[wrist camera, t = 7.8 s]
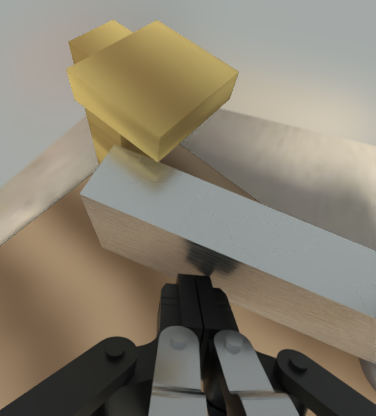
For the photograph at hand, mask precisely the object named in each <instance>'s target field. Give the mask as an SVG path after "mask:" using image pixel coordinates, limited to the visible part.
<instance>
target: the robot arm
mask: <svg viewBox="0 0 376 416" xmlns="http://www.w3.org/2000/svg"><path fill="white" fill-rule="evenodd" d="M201 380H202V381H203V391H202V392H201ZM308 409H309V410H311V411H312V412H313V413H314V414H315V415H317V416H376V404H374V403H373V402H371V401H370V400H369V399H367V398H366V397H364V396H363V395H361V394H360V393H359V392H357V391H356V390H354V389H353V388H352V387H350V386H349V385H347V384H346V383H344V382H343V381H342V380H340V379H339V378H337V377H336V376H335V375H333V374H332V373H330V372H329V371H327V370H326V369H325V368H323V367H322V366H320V365H319V364H318V363H316V362H315V361H313V360H312V359H310V358H309V357H308V356H306V355H305V354H303V353H301V352H299V351H296V350H292V349H283V350H281V351H279V353H278V354H277V357H276V358H275V357H272V356H269V355H266V354H263V353H260V352H258V351H256V350H254V348H253V346H252V344H251V342H250V341H249V339H248V338H247V337H245V336H244V335H243V334H241V333H240V332H239V329H238V326H237V323H236V320H235V318H234V315H233V312H232V309H231V306H230V304H229V300H228V297H227V295H226V294H225V293H224V292H223V291H222V290H221V289H220V288H214V287H213V286H212V282H211V278H210V276H202V275H191V274H181V273H178V275H177V280H176V284H171V283H166V284H165V285H164V286H163V288H162V289H161V295H160V302H159V309H158V316H157V334H156V338H155V339H154V340H153V341H152V342H150V343H148V344H145V345H141V346H136V345H135V344H134V343H133V342H132V341H131V340H129V339H128V338H125V337H120V336H114V337H109V338H106V339H104V340H102V341H100V342H99V343H97V344H96V345H94V346H93V347H91V348H90V349H89V350H87V351H86V352H84V353H83V354H81V355H80V356H78V357H77V358H75V359H74V360H72V361H71V362H70V363H68V364H67V365H65V366H64V367H62V368H61V369H59V370H58V371H56V372H55V373H53V374H52V375H50V376H49V377H48V378H46V379H45V380H43V381H42V382H40V383H39V384H37V385H36V386H34V387H33V388H31V389H30V390H29V391H27V392H26V393H24V394H23V395H21V396H20V397H18V398H17V399H15V400H14V401H12V402H11V403H9V404H8V405H7V406H5V407H4V408H2V409H1V410H0V416H306V413H307V410H308Z"/></svg>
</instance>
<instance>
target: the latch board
mask: <svg viewBox="0 0 376 416" xmlns="http://www.w3.org/2000/svg"><path fill="white" fill-rule="evenodd" d="M69 46H70V50H71V54H72V58H73V62H74V65H73V66H71V67H69V68H67V69H66V70H67V74H68V77H69V81H70V85H71V88H72V91H73V95H74V99H75V100H76V101H77V102H78V103H80V104H81V105H82V106H84V107H85V111H86V115H87V119H88V123H89V127H90V131H91V135H92V139H93V143H94V147H95V151H96V155H97V159H98V163H99V165H100V164H101V162H102V161H103V159H104V158H105V157H106V155H107V154H108V152H109V151H110V149H111V148H112V147H113V145H114V144H116V145H118V146H121V147H123V148H126V149H128V150H131V151H133V152H136V153H138V154H140V155H143V156H145V157H148V158H150V159H153V160H155V161H156V162H160V163H162V164H165V165H167V166H170V167H172V168H175V169H177V170H180V171H182V172H184V173H187V174H189V175H192V176H194V177H197V178H199V179H202V180H204V181H206V182H209V183H211V184H214V185H216V186H219V187H221V188H224V189H226V190H228V191H231V192H233V193H236V194H238V195H241V196H243V197H246V198H248V199H250V200H253V201H255V202H258V203H260V202H259V201H257V200H256V199H255V198H253V197H252V196H250V195H249V194H248V193H246V192H245V191H244V190H242V189H241V188H239V187H238V186H237V185H235V184H234V183H233V182H231V181H230V180H228V179H227V178H226V177H224V176H223V175H222V174H220V173H219V172H217V171H216V170H215V169H213V168H212V167H210V166H209V165H208V164H206V163H205V162H204V161H202V160H201V159H199V158H198V157H197V156H195V155H194V154H193V153H191V152H190V151H188V150H187V149H186V148H184V147H183V146H182V145H180V144H179V143H180V142H182V141H183V140H184V139H185V138H186V137H187V136H188V135H190V134H191V133H192V132H193V131H194V130H195V129H196V128H197V127H199V126H200V125H201V124H202V123H203V122H204V121H205V120H206V119H208V118H209V117H210V116H211V115H212V114H213V113H214V112H215V111H217V110H218V109H219V108H220V107H221V106H222V105H223V104H224V103H226V102H227V101H228V100H229V99H230V96H231V93H232V91H233V87H234V85H235V82H236V79H237V76H238V73H239V72H238V71H237V70H235V69H234V68H232V67H230V66H229V65H227V64H226V63H224V62H223V61H221V60H219V59H218V58H216V57H215V56H213V55H211V54H210V53H208V52H207V51H205V50H204V49H202V48H200V47H199V46H197V45H196V44H194V43H193V42H191V41H189V40H188V39H186V38H185V37H183V36H181V35H180V34H178V33H177V32H175V31H173V30H172V29H170V28H169V27H167V26H166V25H164V24H162V23H161V22H159V21H158V20H156V21H154V22H153V23H151V24H149V25H147V26H145V27H143V28H141V29H140V30H138V31H136V32H134V33H133V32H131V31H130V30H128V29H127V28H125V27H124V26H122V25H121V24H119V23H118V22H116V21H115V20H112V21H110V22H108V23H106V24H104V25H102V26H100V27H98V28H95V29H93V30H91V31H89V32H87V33H85V34H83V35H81V36H79V37H77V38H75V39H73V40H71V41H69ZM93 174H94V173H93ZM93 174H92V175H93ZM92 175H90V176H89V177H88V178H87V179H85V180H84V181H83V182H82V183H80V184H79V185H78V186H76V187H75V188H74V189H73V190H71V191H70V192H69V193H68V194H66V195H65V196H64V197H62V198H61V199H60V200H59V201H57V202H56V203H55V204H54V205H52V206H51V207H50V208H49V209H47V210H46V211H45V212H43V213H42V214H41V215H40V216H38V217H37V218H36V219H35V220H33V221H32V222H31V223H29V224H28V225H27V226H26V227H24V228H23V229H22V230H21V231H19V232H18V233H17V234H16V235H14V236H13V237H12V238H10V239H9V240H8V241H7V242H5V243H4V244H3V245H2V246H0V410H1V409H2V408H4V407H5V406H7V405H8V404H9V403H11V402H12V401H14V400H15V399H17V398H18V397H20V396H21V395H23V394H24V393H26V392H27V391H29V390H30V389H31V388H33V387H34V386H36V385H37V384H39V383H40V382H42V381H43V380H45V379H46V378H48V377H49V376H50V375H52V374H53V373H55V372H56V371H58V370H59V369H61V368H62V367H64V366H65V365H67V364H68V363H70V362H71V361H72V360H74V359H75V358H77V357H78V356H80V355H81V354H83V353H84V352H86V351H87V350H89V349H90V348H91V347H93V346H94V345H96V344H97V343H99V342H100V341H102V340H104V339H106V338H109V337H114V336H120V337H125V338H128V339H129V340H131V341H132V342H133V343H134V344H135V345H136V346H141V345H145V344H148V343H150V342H152V341H153V340H154V339H155V338H156V334H157V316H158V309H159V302H160V295H161V289H162V288H163V286H164V285H165V284H166V283H171V284H176V280H177V279H175V278H173V277H170V276H168V275H166V274H163V273H161V272H159V271H156V270H154V269H152V268H149V267H147V266H145V265H142V264H140V263H138V262H135V261H133V260H131V259H128V258H126V257H124V256H121V255H119V254H117V253H114V252H112V251H110V250H107V249H105V248H103V247H102V246H101V244H100V241H99V239H98V236H97V234H96V232H95V229H94V227H93V225H92V222H91V220H90V218H89V215H88V213H87V210H86V208H85V206H84V203H83V201H82V199H81V196H80V192H81V191H82V190H83V188H84V187H85V185H86V184H87V182H88V181H89V180H90V178H91V177H92ZM260 204H261V203H260ZM229 304H230V306H231V309H232V312H233V315H234V318H235V320H236V323H237V326H238V329H239V332H240V333H241V334H243V335H244V336H245V337H247V338H248V339H249V341H250V342H251V344H252V346H253V348H254V350H256V351H258V352H260V353H263V354H266V355H269V356H272V357H275V358H276V357H277V354H278V353H279V351H281V350H283V349H292V350H296V351H299V352H301V353H303V354H305V355H306V356H308V357H309V358H310V359H312V360H313V361H315V362H316V363H318V364H319V365H320V366H322V367H323V368H325V369H326V370H327V371H329V372H330V373H332V374H333V375H335V376H336V377H337V378H339V379H340V380H342V381H343V382H344V383H346V384H347V385H349V386H350V387H352V388H353V389H354V390H356V391H357V392H359V393H360V394H361V395H363V396H364V397H366V398H367V399H369V400H370V401H371V402H373V403H374V404H376V365H375V364H373V363H371V362H368V361H366V360H364V359H361V358H359V357H357V356H354V355H352V354H350V353H347V352H345V351H343V350H340V349H338V348H336V347H333V346H331V345H329V344H327V343H324V342H322V341H320V340H317V339H315V338H313V337H310V336H308V335H306V334H303V333H301V332H299V331H296V330H294V329H292V328H289V327H287V326H285V325H282V324H280V323H278V322H275V321H273V320H271V319H268V318H266V317H264V316H261V315H259V314H257V313H254V312H252V311H250V310H247V309H245V308H243V307H240V306H238V305H236V304H233V303H231V302H229ZM202 391H203V381H202V380H201V392H202ZM306 416H317V415H315V414H314V413H313V412H312V411H311V410H309V409H308V410H307V413H306Z"/></svg>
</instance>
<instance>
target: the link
mask: <svg viewBox="0 0 376 416" xmlns="http://www.w3.org/2000/svg"><path fill="white" fill-rule="evenodd" d="M80 196H81V199H82V201H83V203H84V206H85V208H86V210H87V213H88V215H89V218H90V220H91V222H92V225H93V227H94V229H95V232H96V234H97V236H98V239H99V241H100V244H101V246H102V247H103V248H105V249H107V250H110V251H112V252H114V253H117V254H119V255H121V256H124V257H126V258H128V259H131V260H133V261H135V262H138V263H140V264H142V265H145V266H147V267H149V268H152V269H154V270H156V271H159V272H161V273H163V274H166V275H168V276H170V277H173V278H175V279H177V275H178V273H181V274H191V275H202V276H210V278H211V282H212V286H213V287H214V288H220V289H221V290H222V291H223V292H224V293H225V294H226V295H227V297H228V300H229V302H231V303H233V304H236V305H238V306H240V307H243V308H245V309H247V310H250V311H252V312H254V313H257V314H259V315H261V316H264V317H266V318H268V319H271V320H273V321H275V322H278V323H280V324H282V325H285V326H287V327H289V328H292V329H294V330H296V331H299V332H301V333H303V334H306V335H308V336H310V337H313V338H315V339H317V340H320V341H322V342H324V343H327V344H329V345H331V346H333V347H336V348H338V349H340V350H343V351H345V352H347V353H350V354H352V355H354V356H357V357H359V358H361V359H364V360H366V361H368V362H371V363H373V364H375V365H376V251H375V250H373V249H370V248H368V247H365V246H363V245H360V244H358V243H356V242H353V241H351V240H348V239H346V238H343V237H341V236H338V235H336V234H334V233H331V232H329V231H326V230H324V229H321V228H319V227H316V226H314V225H312V224H309V223H307V222H304V221H302V220H299V219H297V218H294V217H292V216H290V215H287V214H285V213H282V212H280V211H277V210H275V209H272V208H270V207H268V206H265V205H263V204H260V203H258V202H255V201H253V200H250V199H248V198H246V197H243V196H241V195H238V194H236V193H233V192H231V191H228V190H226V189H224V188H221V187H219V186H216V185H214V184H211V183H209V182H206V181H204V180H202V179H199V178H197V177H194V176H192V175H189V174H187V173H184V172H182V171H180V170H177V169H175V168H172V167H170V166H167V165H165V164H162V163H160V162H156V161H155V160H153V159H150V158H148V157H145V156H143V155H140V154H138V153H136V152H133V151H131V150H128V149H126V148H123V147H121V146H118V145H116V144H114V145H113V147H112V148H111V149H110V151H109V152H108V154H107V155H106V157H105V158H104V159H103V161H102V162H101V164H100V165H99V167H98V168H97V170H96V171H95V172H94V174H93V175H92V177H91V178H90V180H89V181H88V182H87V184H86V185H85V187H84V188H83V190H82V191H81V192H80Z"/></svg>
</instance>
